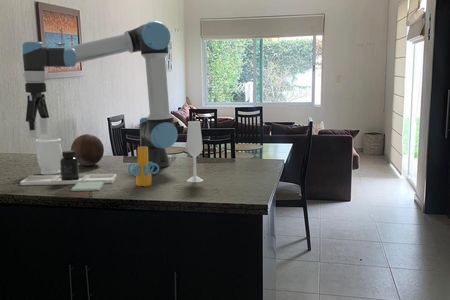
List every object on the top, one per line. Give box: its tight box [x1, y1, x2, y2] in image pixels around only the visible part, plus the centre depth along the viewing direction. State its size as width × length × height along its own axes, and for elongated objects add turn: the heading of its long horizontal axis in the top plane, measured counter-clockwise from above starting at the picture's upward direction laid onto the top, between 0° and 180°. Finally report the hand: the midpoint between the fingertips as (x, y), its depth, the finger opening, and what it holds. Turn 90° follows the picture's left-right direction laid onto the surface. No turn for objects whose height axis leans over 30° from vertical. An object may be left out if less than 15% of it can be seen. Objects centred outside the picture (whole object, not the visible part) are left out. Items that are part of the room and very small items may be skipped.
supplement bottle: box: [60, 150, 80, 181], centre depth 186 cm, size 7×7×12 cm
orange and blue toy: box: [127, 145, 160, 187], centre depth 179 cm, size 12×10×15 cm
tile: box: [70, 182, 105, 192], centre depth 176 cm, size 10×10×1 cm
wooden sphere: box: [70, 133, 105, 167], centre depth 219 cm, size 15×15×15 cm
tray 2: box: [83, 173, 118, 184], centre depth 188 cm, size 11×11×1 cm
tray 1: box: [19, 174, 59, 186], centre depth 186 cm, size 11×11×1 cm
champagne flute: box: [185, 120, 204, 183], centre depth 186 cm, size 7×7×24 cm
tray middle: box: [51, 174, 88, 186], centre depth 187 cm, size 11×11×1 cm
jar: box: [35, 137, 63, 175], centre depth 202 cm, size 11×10×15 cm
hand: (39, 136), depth 184 cm, fingers open, 13 cm apart
